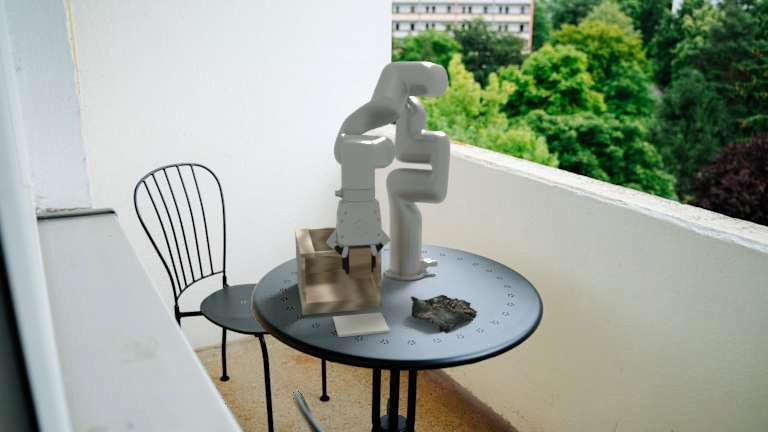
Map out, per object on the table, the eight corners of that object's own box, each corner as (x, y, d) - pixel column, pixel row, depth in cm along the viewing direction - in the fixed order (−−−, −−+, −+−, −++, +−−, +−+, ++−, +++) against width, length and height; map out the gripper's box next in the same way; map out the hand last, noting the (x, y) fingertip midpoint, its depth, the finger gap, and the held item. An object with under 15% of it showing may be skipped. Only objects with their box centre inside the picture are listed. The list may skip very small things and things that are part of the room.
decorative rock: (432, 282, 155) (485, 289, 148) (432, 304, 156) (486, 312, 149) (399, 303, 139) (457, 311, 132) (400, 327, 140) (458, 337, 133)
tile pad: (380, 314, 145) (380, 312, 144) (389, 332, 135) (389, 329, 135) (332, 318, 142) (332, 316, 142) (338, 337, 133) (338, 334, 133)
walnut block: (371, 277, 133) (371, 247, 131) (349, 278, 132) (349, 249, 130) (367, 270, 138) (367, 241, 136) (346, 271, 137) (346, 243, 135)
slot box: (366, 277, 169) (365, 224, 165) (381, 307, 148) (381, 248, 144) (297, 283, 165) (295, 229, 161) (303, 314, 145) (300, 253, 140)
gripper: (322, 199, 125) (323, 279, 129) (398, 196, 128) (398, 274, 133) (318, 193, 132) (320, 268, 136) (391, 190, 136) (391, 264, 140)
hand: (358, 270), depth 135 cm, fingers closed on walnut block, 5 cm apart
